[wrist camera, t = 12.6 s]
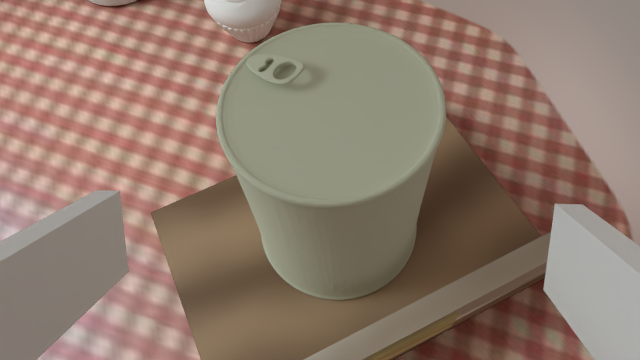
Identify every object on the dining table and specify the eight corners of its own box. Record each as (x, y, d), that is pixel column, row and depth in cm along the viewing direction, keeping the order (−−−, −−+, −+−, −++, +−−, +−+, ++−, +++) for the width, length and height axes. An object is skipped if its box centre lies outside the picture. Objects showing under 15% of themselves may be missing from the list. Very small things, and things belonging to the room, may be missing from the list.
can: (321, 136, 33) (305, -16, 22) (445, 206, 30) (493, 68, 19) (230, 242, 29) (161, 121, 19) (358, 334, 26) (361, 250, 16)
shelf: (161, 226, 32) (130, 187, 28) (423, 110, 36) (433, 59, 31) (238, 446, 26) (214, 443, 21) (552, 278, 29) (588, 244, 24)
